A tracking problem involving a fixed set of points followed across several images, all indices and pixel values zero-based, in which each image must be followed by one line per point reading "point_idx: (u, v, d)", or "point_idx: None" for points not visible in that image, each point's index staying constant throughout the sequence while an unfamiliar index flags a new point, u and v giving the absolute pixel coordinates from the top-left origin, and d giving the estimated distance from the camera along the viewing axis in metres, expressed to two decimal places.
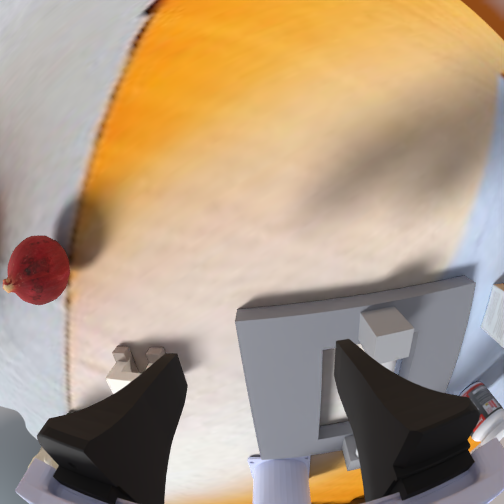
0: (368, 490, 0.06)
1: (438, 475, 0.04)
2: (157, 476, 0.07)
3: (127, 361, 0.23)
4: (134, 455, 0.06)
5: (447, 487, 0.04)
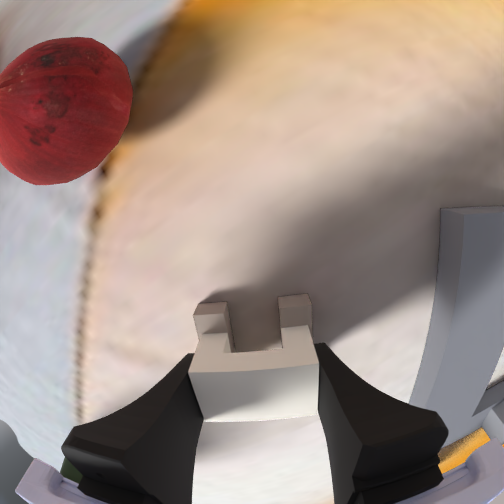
0: (336, 497, 0.06)
1: (402, 490, 0.04)
2: (185, 480, 0.07)
3: (226, 331, 0.12)
4: (166, 460, 0.06)
5: (446, 487, 0.04)
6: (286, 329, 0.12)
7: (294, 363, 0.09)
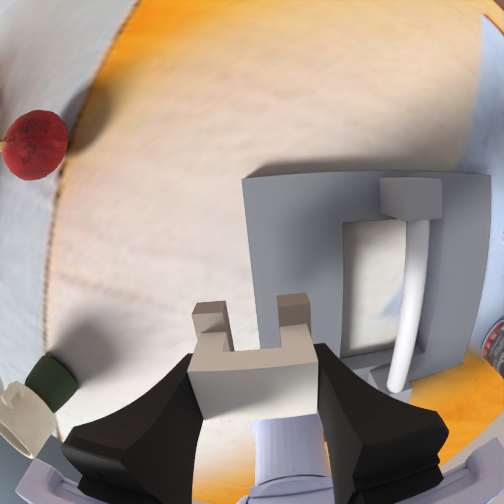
0: (336, 497, 0.06)
1: (402, 490, 0.04)
2: (185, 480, 0.07)
3: (225, 330, 0.12)
4: (166, 460, 0.06)
5: (447, 487, 0.04)
6: (285, 328, 0.12)
7: (293, 361, 0.09)
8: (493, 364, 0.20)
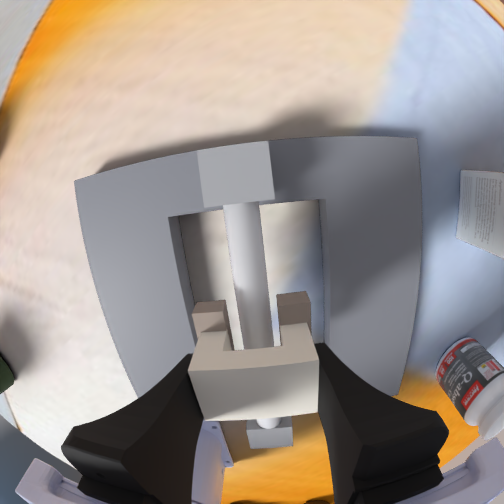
0: (336, 497, 0.06)
1: (402, 490, 0.04)
2: (185, 480, 0.07)
3: (225, 329, 0.12)
4: (166, 460, 0.06)
5: (446, 487, 0.04)
6: (285, 326, 0.12)
7: (294, 360, 0.09)
8: (448, 395, 0.17)
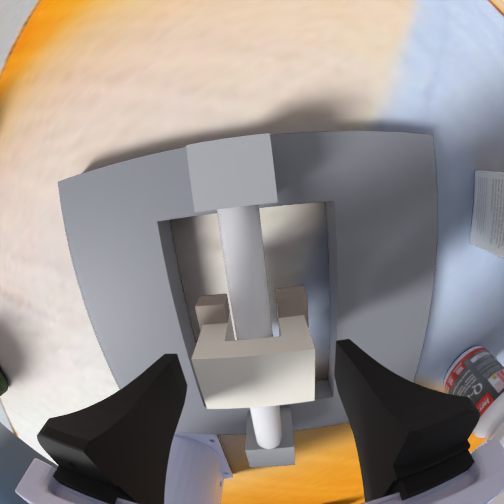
0: (368, 490, 0.06)
1: (438, 475, 0.04)
2: (157, 476, 0.07)
3: (226, 321, 0.13)
4: (134, 455, 0.06)
5: (446, 487, 0.04)
6: (283, 318, 0.12)
7: (292, 348, 0.10)
8: None
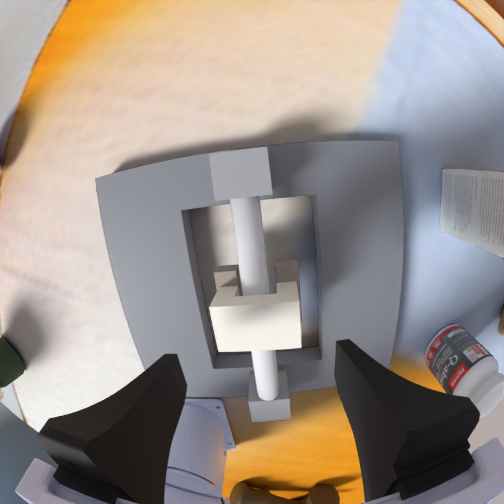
0: (368, 490, 0.06)
1: (438, 475, 0.04)
2: (157, 476, 0.07)
3: (237, 285, 0.17)
4: (134, 455, 0.06)
5: (447, 487, 0.04)
6: (280, 283, 0.17)
7: (282, 301, 0.14)
8: (437, 378, 0.20)
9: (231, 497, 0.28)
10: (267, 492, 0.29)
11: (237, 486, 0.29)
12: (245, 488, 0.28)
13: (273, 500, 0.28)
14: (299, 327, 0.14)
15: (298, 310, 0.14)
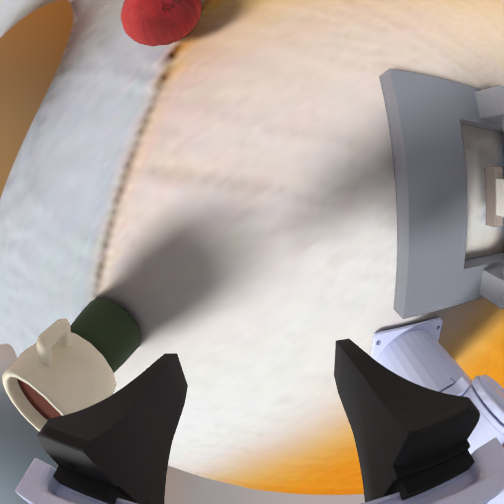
0: (368, 490, 0.06)
1: (438, 475, 0.04)
2: (157, 476, 0.07)
3: (501, 178, 0.15)
4: (135, 455, 0.06)
5: (447, 487, 0.04)
6: None
7: None
8: None
9: None
10: None
11: None
12: None
13: None
14: None
15: None
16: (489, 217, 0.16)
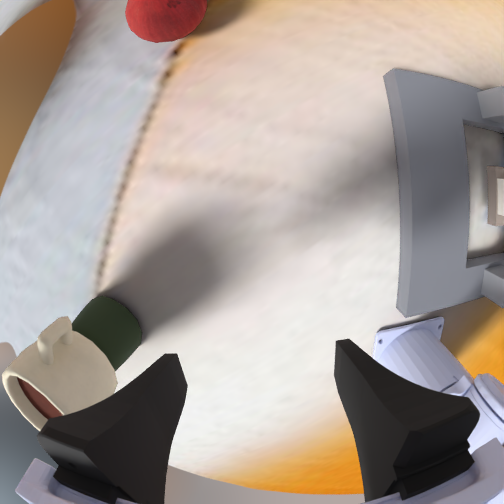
0: (368, 490, 0.06)
1: (438, 475, 0.04)
2: (157, 476, 0.07)
3: (503, 178, 0.15)
4: (134, 455, 0.06)
5: (447, 487, 0.04)
6: None
7: None
8: None
9: None
10: None
11: None
12: None
13: None
14: None
15: None
16: (491, 216, 0.16)
